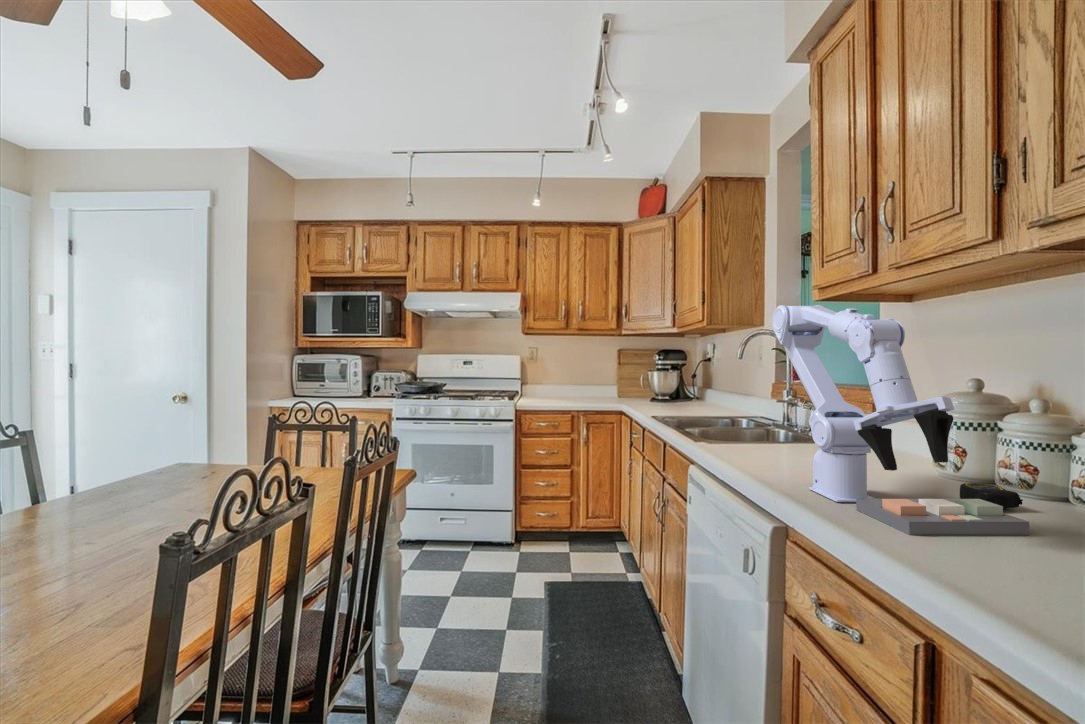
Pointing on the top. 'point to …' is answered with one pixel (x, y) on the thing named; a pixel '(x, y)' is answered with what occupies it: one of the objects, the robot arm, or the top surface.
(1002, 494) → the tape measure
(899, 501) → the terracotta key
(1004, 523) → the keypad
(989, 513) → the sage key
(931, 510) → the cream key
